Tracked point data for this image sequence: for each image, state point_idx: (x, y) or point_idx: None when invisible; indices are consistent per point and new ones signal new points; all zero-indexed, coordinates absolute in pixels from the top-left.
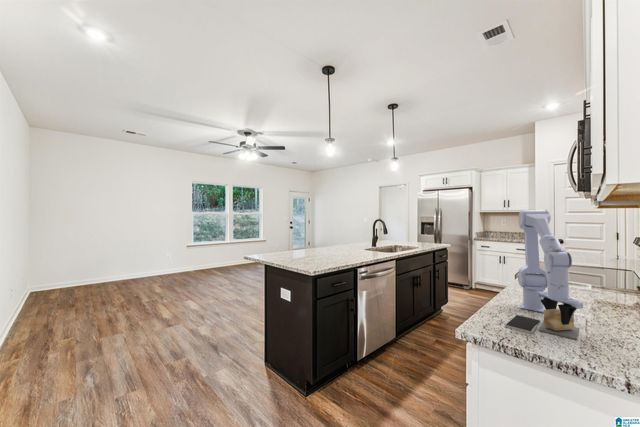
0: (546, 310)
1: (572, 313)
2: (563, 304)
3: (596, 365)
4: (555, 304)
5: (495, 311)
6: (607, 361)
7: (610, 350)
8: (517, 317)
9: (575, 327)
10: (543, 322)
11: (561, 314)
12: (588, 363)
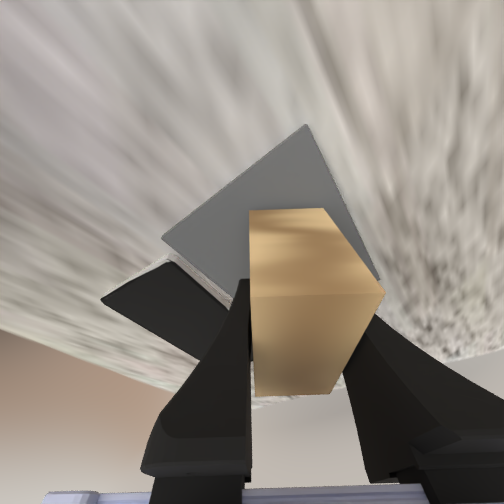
0: (268, 393)
1: (407, 346)
2: (399, 478)
3: (460, 344)
4: (247, 391)
5: (52, 326)
6: (484, 314)
7: (497, 244)
8: (140, 318)
9: (295, 147)
10: (195, 261)
11: (345, 369)
12: (444, 349)
